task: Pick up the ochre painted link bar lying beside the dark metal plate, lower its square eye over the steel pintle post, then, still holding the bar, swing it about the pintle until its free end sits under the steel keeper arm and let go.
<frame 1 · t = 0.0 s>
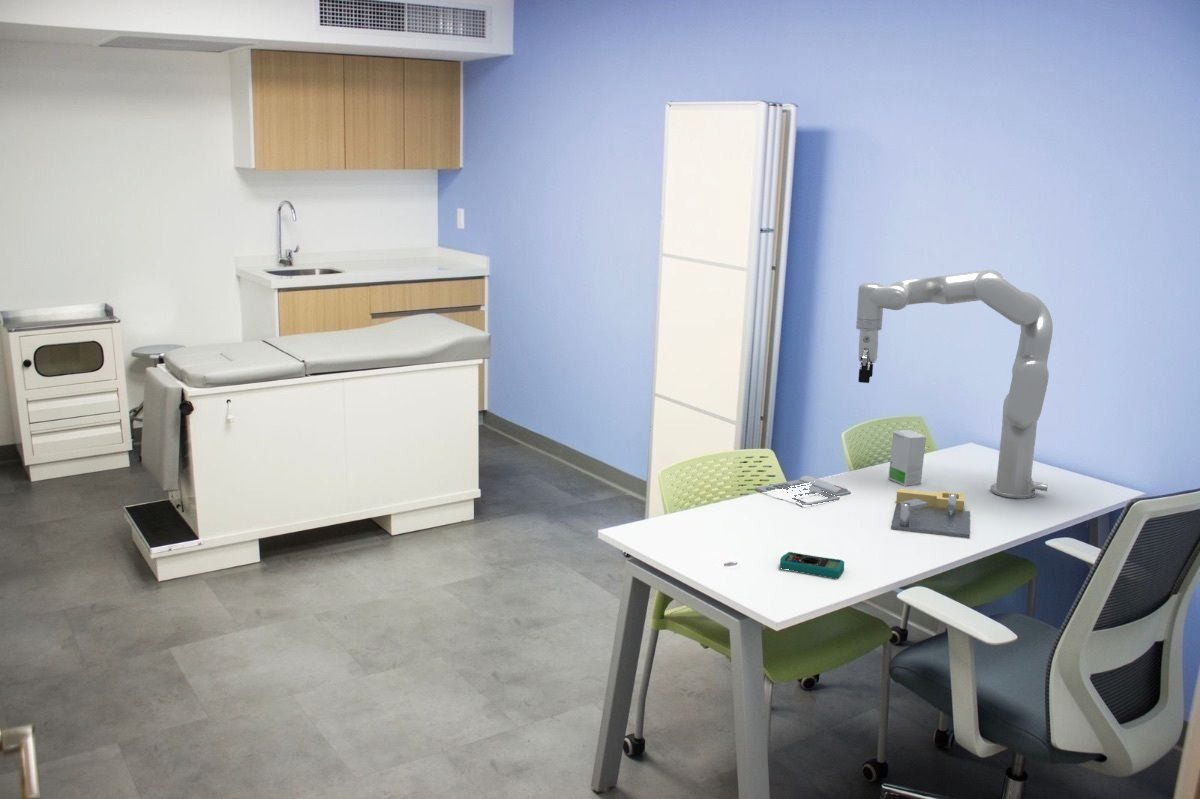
hand: (865, 379, 321), 31 cm above the table, fingers open, 9 cm apart
link: (896, 501, 304), on the table
pintle plate: (931, 521, 287), on the table
skincare box: (905, 482, 323), on the table
digital multimeter: (811, 571, 253), on the table
office telephone: (806, 495, 312), on the table
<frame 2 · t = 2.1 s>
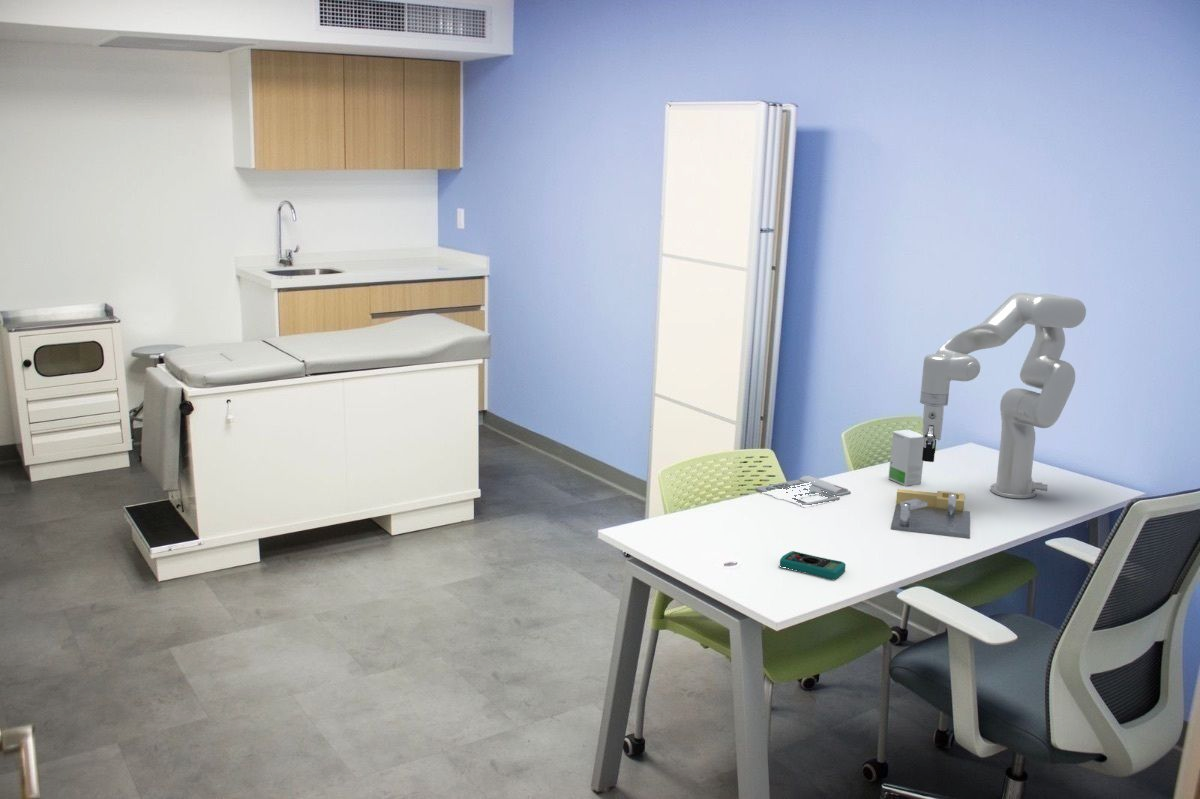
hand: (928, 457, 298), 14 cm above the table, fingers open, 9 cm apart
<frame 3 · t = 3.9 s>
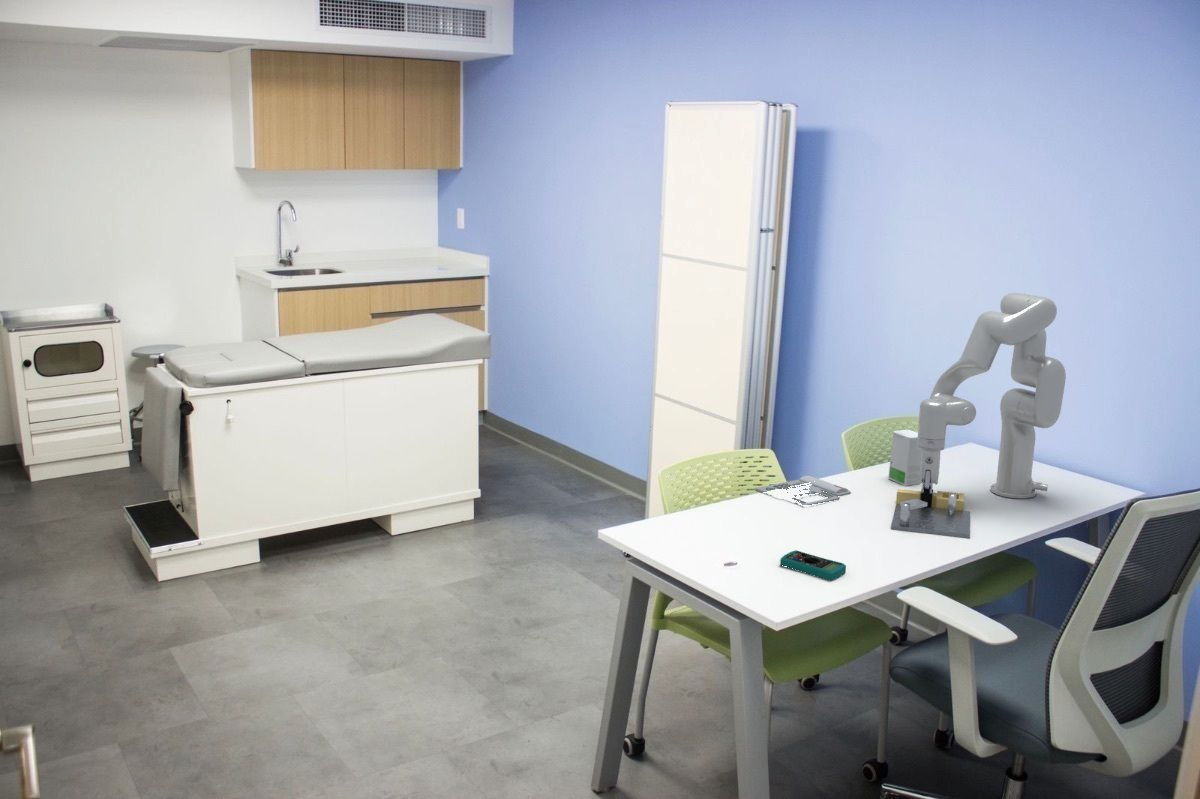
hand: (925, 503, 301), 0 cm above the table, fingers closed on link, 3 cm apart
link: (896, 501, 304), on the table, touching gripper
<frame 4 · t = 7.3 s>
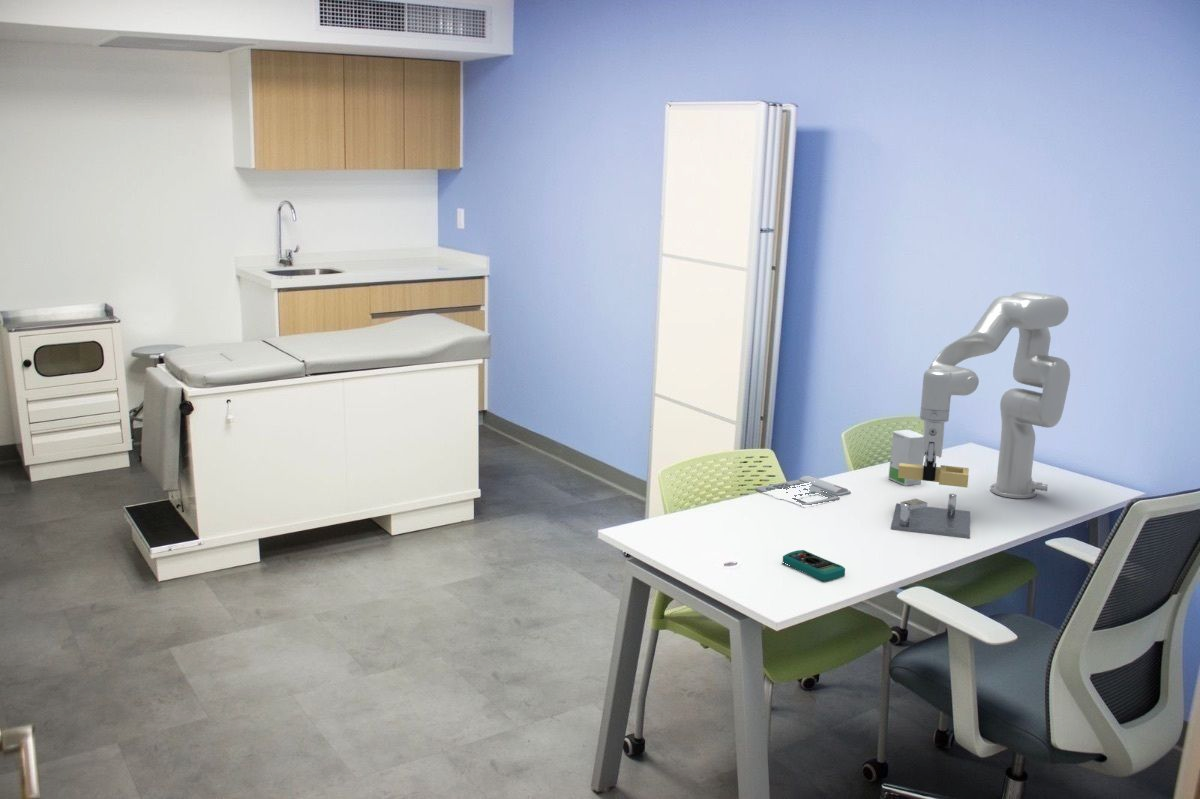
hand: (928, 477, 291), 11 cm above the table, fingers closed on link, 3 cm apart
link: (898, 476, 293), point 10 cm above the table, touching gripper
when the fingers open (2 cm above the table, at t = 11.0 s): link stays where it is, resting on pintle plate.
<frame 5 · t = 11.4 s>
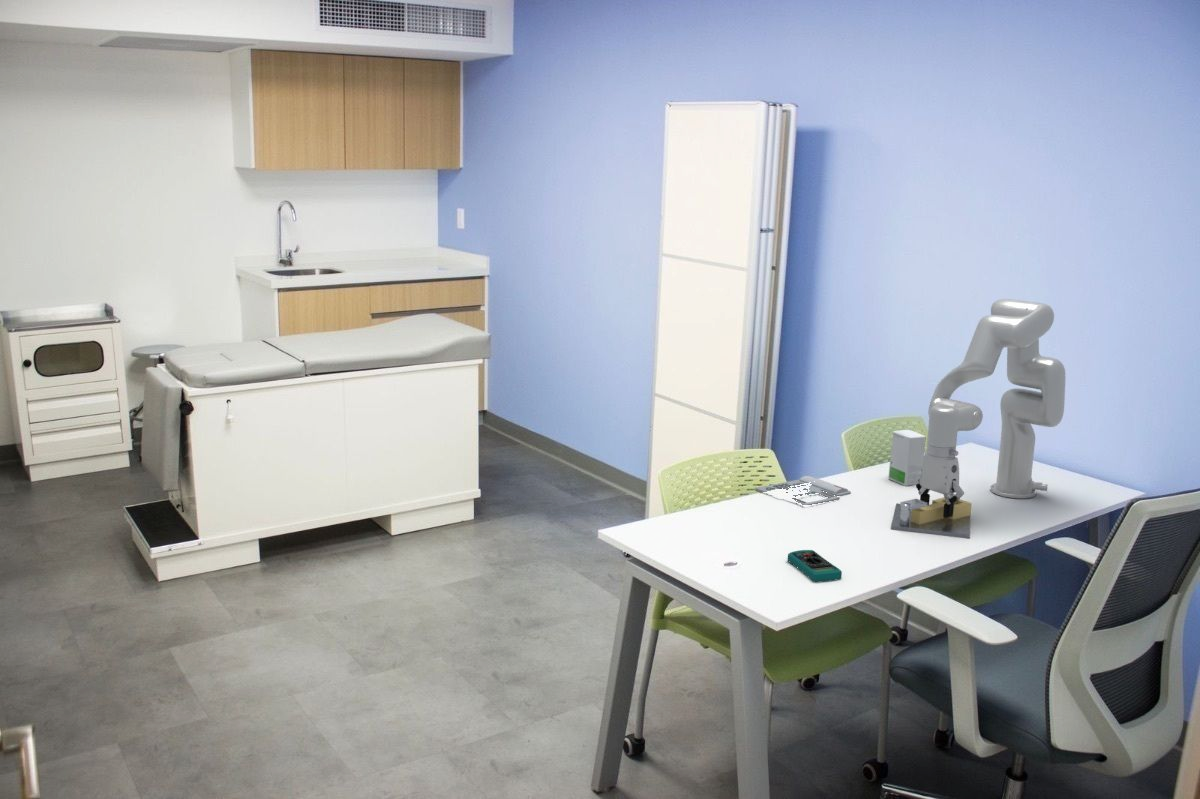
hand: (935, 512, 287), 3 cm above the table, fingers open, 7 cm apart
link: (914, 522, 283), point 1 cm above the table, touching pintle plate
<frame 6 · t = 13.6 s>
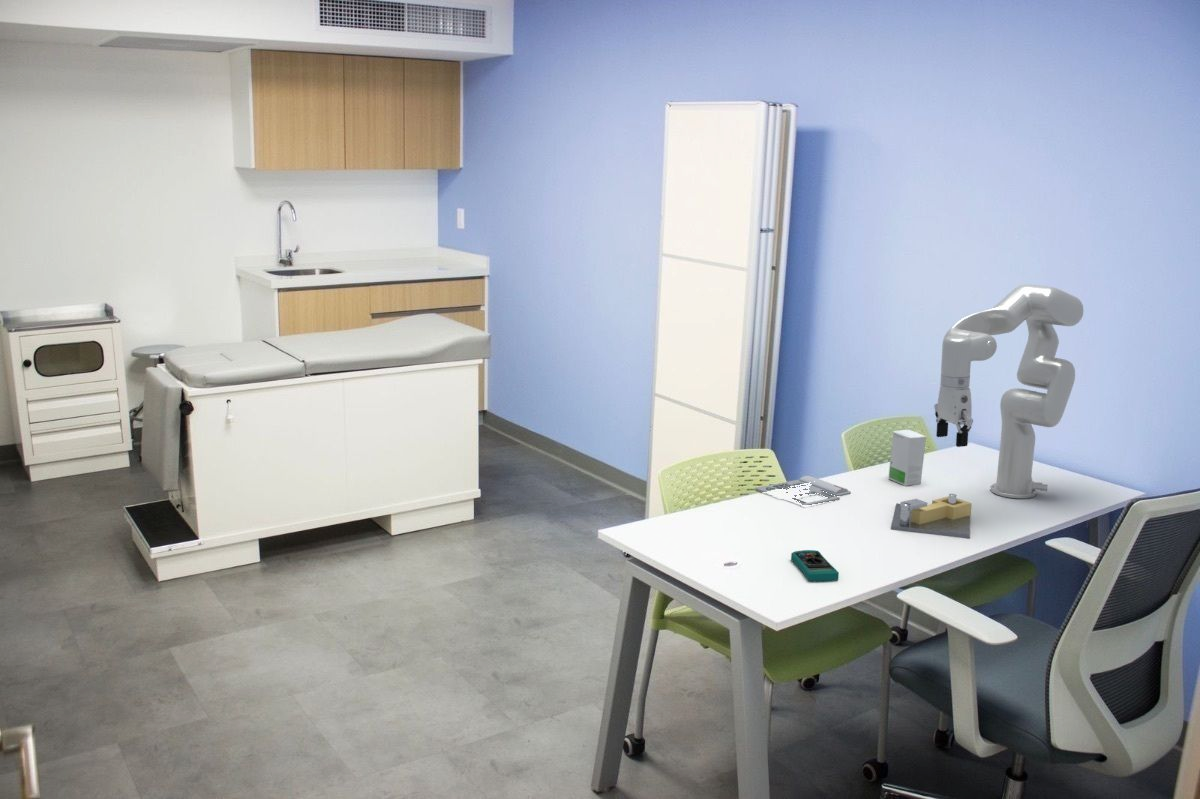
hand: (951, 441, 289), 21 cm above the table, fingers open, 9 cm apart
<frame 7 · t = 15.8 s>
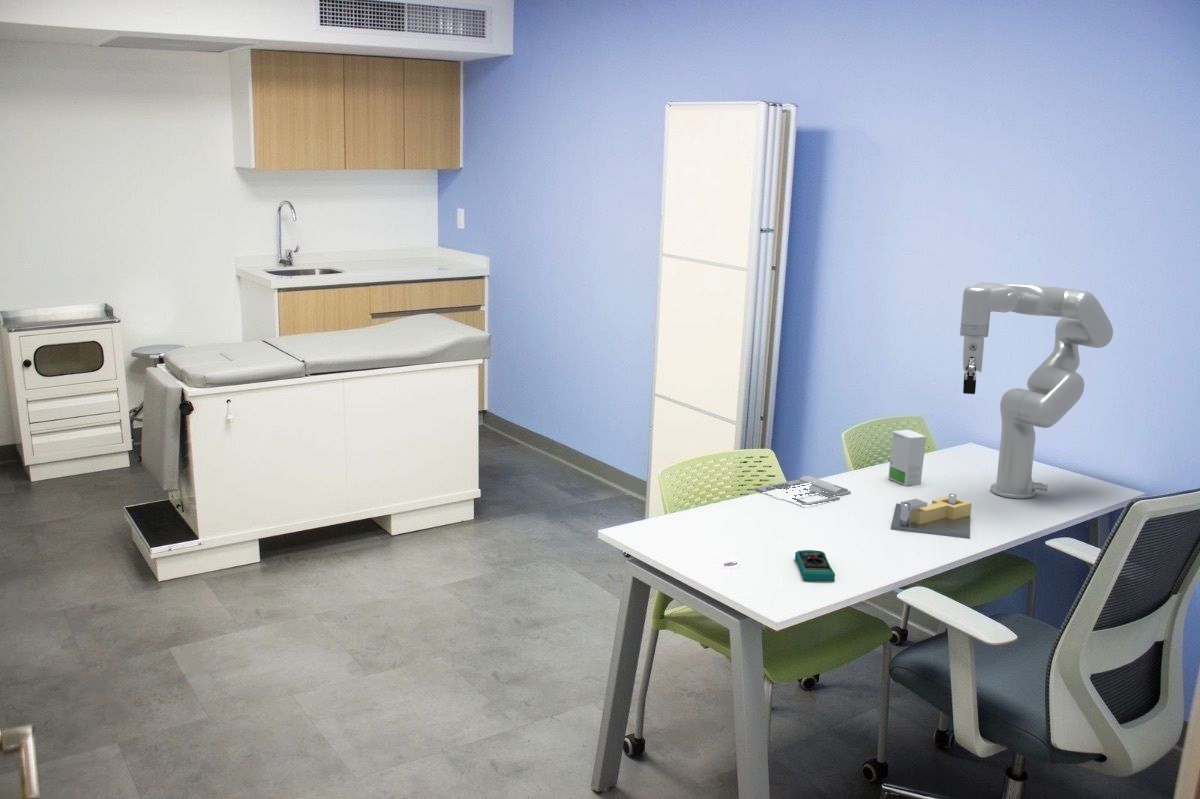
hand: (969, 390, 297), 33 cm above the table, fingers open, 9 cm apart
at the end: link 0.1 cm from the target spot on the pintle plate, point 1.0 cm above the pintle plate's base; link tilted 0°; the gripper is holding nothing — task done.
